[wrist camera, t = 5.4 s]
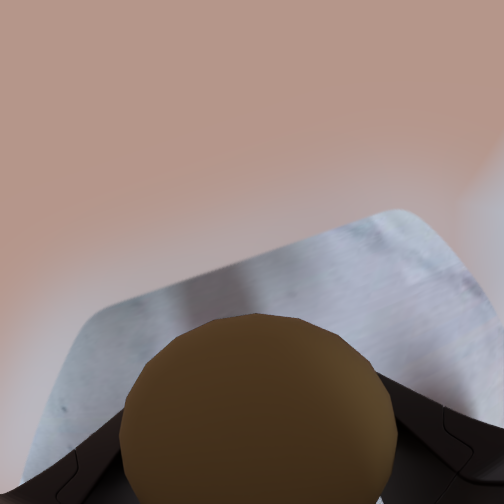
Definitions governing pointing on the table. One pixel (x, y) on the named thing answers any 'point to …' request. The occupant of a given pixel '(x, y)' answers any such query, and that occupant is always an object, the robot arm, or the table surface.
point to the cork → (258, 418)
